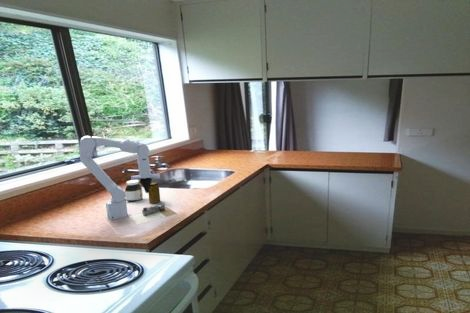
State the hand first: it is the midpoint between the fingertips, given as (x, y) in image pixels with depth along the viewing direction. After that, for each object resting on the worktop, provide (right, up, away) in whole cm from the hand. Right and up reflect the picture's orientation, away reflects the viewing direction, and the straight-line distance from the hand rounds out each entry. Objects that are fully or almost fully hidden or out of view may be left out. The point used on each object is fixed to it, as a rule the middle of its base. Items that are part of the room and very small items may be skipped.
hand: (147, 192), depth 167 cm
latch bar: (+4, -10, -3) cm, 11 cm away
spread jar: (-15, -7, +23) cm, 28 cm away
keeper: (+1, -10, -2) cm, 10 cm away
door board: (+5, -12, -7) cm, 14 cm away
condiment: (+1, -8, +13) cm, 16 cm away
